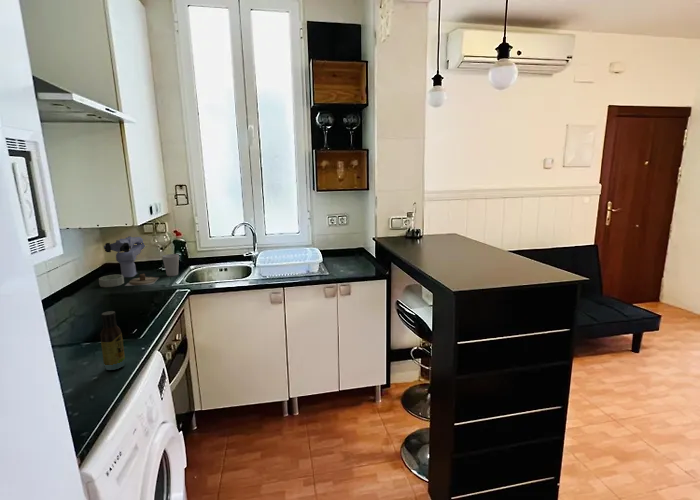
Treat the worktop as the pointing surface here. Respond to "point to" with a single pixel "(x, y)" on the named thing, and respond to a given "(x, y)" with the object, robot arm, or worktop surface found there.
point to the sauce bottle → (111, 340)
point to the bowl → (111, 280)
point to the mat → (144, 284)
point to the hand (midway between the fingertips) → (113, 249)
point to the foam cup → (171, 264)
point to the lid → (142, 280)
